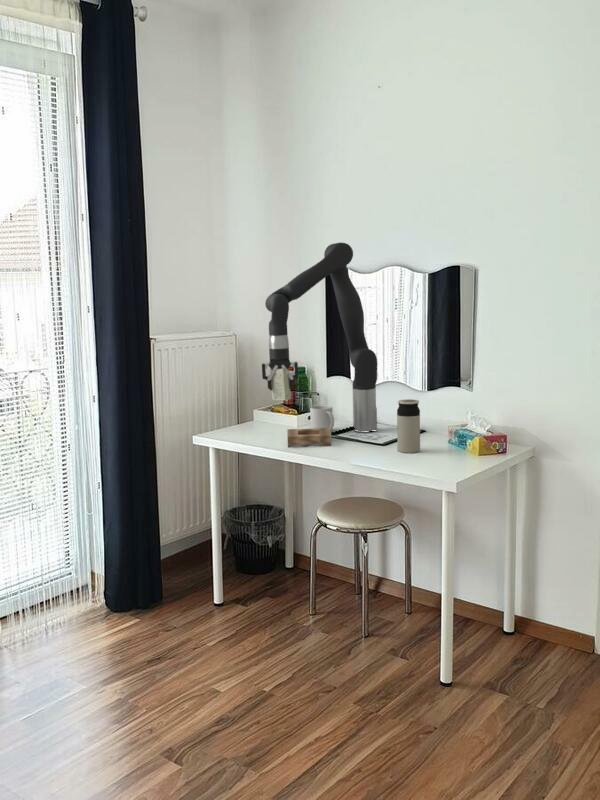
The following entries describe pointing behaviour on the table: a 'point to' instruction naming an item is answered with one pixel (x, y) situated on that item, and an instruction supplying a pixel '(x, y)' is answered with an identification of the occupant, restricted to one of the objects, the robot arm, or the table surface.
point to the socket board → (309, 437)
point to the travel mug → (408, 426)
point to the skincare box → (280, 385)
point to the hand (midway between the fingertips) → (280, 389)
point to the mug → (322, 417)
